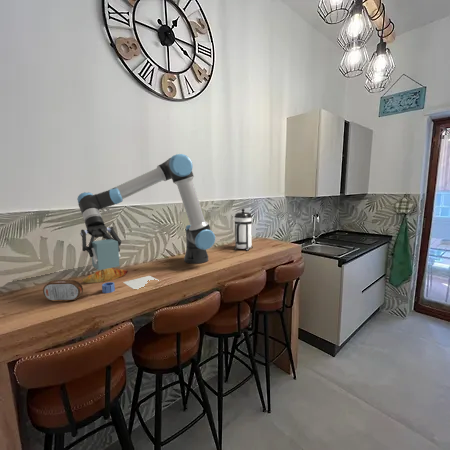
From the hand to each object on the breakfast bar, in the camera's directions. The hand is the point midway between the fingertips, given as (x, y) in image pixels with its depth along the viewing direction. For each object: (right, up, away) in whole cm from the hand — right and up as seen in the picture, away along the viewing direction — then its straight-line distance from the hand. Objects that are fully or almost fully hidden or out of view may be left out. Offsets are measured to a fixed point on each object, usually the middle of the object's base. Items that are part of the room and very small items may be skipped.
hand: (108, 260), depth 112 cm
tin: (-17, -16, -4) cm, 24 cm away
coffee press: (+64, -3, +81) cm, 103 cm away
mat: (+10, -13, +15) cm, 22 cm away
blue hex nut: (-2, -15, +4) cm, 15 cm away
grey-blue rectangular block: (-2, -3, +3) cm, 5 cm away
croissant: (-10, -13, +21) cm, 27 cm away
